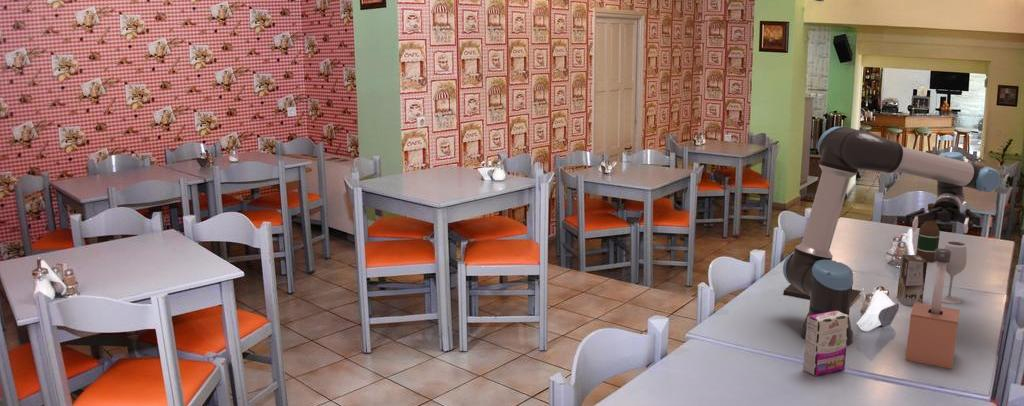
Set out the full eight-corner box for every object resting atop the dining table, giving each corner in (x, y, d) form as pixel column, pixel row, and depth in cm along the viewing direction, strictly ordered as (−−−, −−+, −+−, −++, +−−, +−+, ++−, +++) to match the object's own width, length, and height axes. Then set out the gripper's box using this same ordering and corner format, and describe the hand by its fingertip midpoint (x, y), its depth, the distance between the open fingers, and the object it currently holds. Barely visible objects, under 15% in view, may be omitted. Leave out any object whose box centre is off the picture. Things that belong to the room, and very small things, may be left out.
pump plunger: (927, 318, 237) (936, 247, 232) (942, 320, 235) (951, 249, 230) (925, 326, 230) (934, 253, 226) (940, 328, 228) (950, 256, 224)
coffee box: (922, 306, 279) (928, 262, 276) (902, 305, 281) (908, 260, 277) (915, 298, 288) (920, 254, 285) (896, 296, 289) (901, 253, 286)
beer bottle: (937, 259, 337) (944, 203, 332) (935, 263, 331) (942, 206, 326) (916, 256, 341) (923, 201, 336) (914, 260, 335) (921, 204, 330)
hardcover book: (795, 285, 304) (796, 279, 303) (860, 296, 291) (861, 290, 290) (783, 296, 291) (783, 290, 290) (850, 309, 278) (850, 302, 278)
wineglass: (963, 300, 286) (971, 243, 282) (957, 305, 281) (965, 247, 276) (940, 295, 291) (947, 239, 287) (934, 300, 286) (941, 243, 281)
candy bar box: (831, 363, 231) (836, 309, 228) (844, 370, 227) (850, 315, 223) (801, 370, 227) (806, 314, 223) (814, 377, 222) (819, 320, 219)
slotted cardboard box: (909, 346, 244) (914, 302, 241) (953, 354, 238) (959, 309, 235) (905, 359, 234) (910, 314, 231) (951, 368, 228) (958, 322, 225)
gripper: (992, 220, 250) (987, 241, 233) (903, 218, 264) (893, 237, 247) (992, 197, 248) (988, 217, 231) (903, 196, 262) (893, 214, 245)
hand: (939, 227), depth 239 cm, fingers open, 13 cm apart
